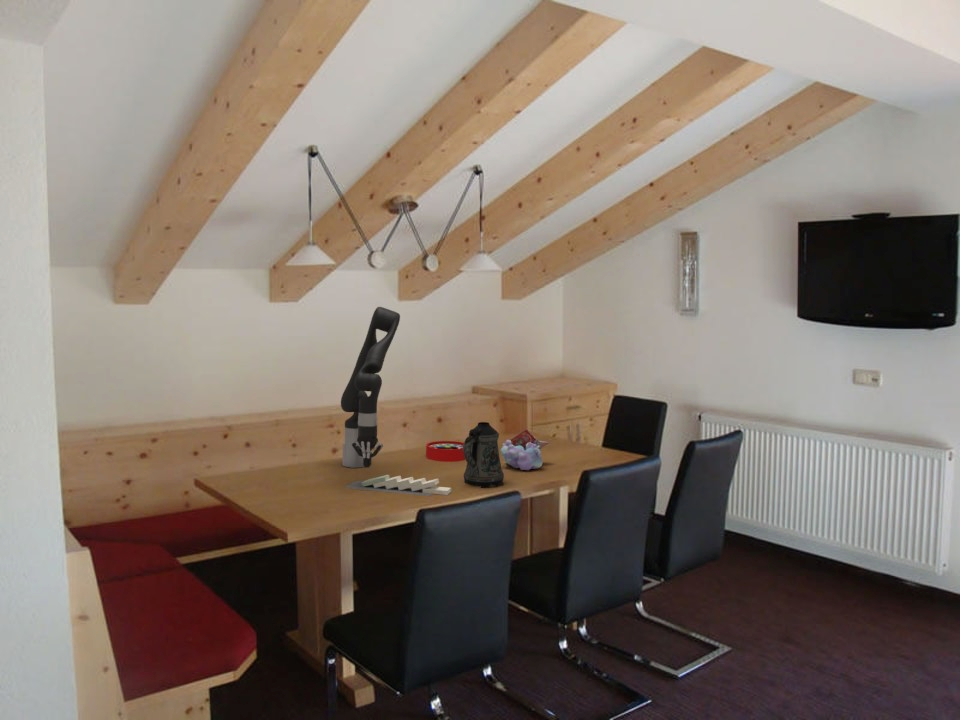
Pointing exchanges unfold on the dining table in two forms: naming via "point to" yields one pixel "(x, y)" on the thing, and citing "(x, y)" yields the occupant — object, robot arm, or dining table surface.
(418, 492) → the mat
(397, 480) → the domino
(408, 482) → the domino
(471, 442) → the beer stein
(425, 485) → the domino
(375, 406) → the robot arm
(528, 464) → the swirly pastel blob
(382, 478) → the domino
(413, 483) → the domino
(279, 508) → the dining table surface
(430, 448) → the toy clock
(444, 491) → the domino
